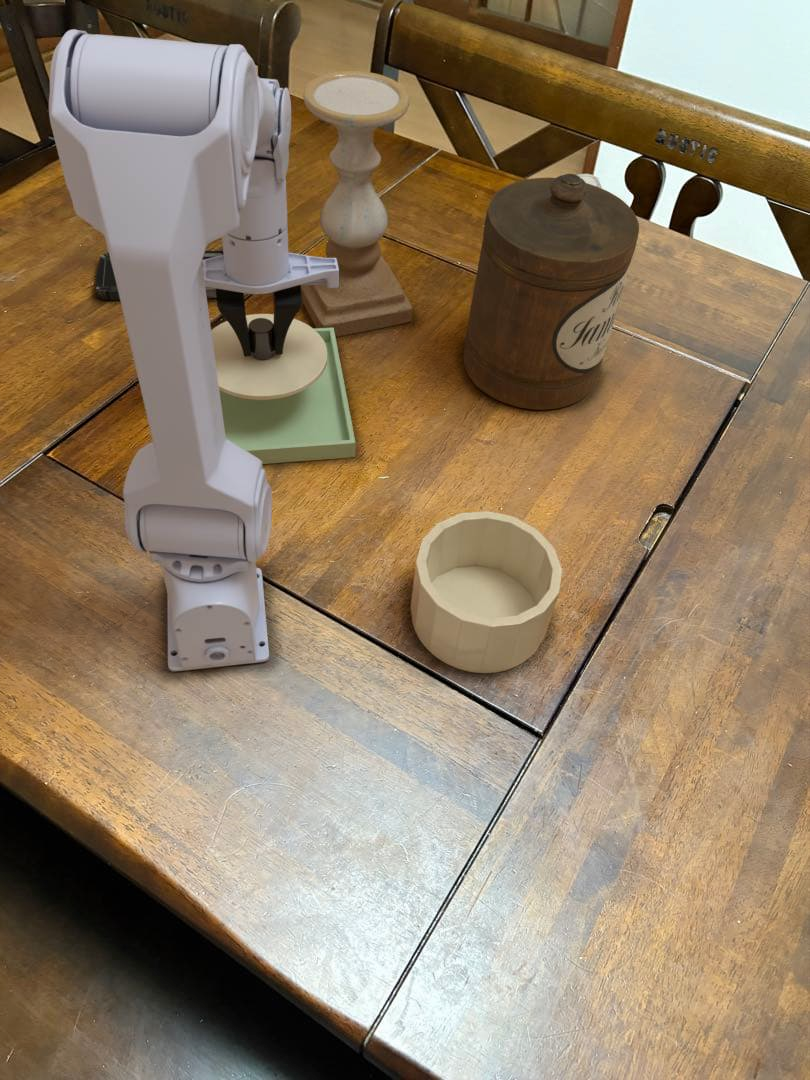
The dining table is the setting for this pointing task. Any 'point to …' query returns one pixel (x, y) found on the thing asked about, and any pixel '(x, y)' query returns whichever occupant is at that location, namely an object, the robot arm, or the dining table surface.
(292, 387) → the lid
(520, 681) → the dining table surface
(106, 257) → the phone
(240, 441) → the tray
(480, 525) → the tin
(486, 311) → the wooden container
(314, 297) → the candle holder
